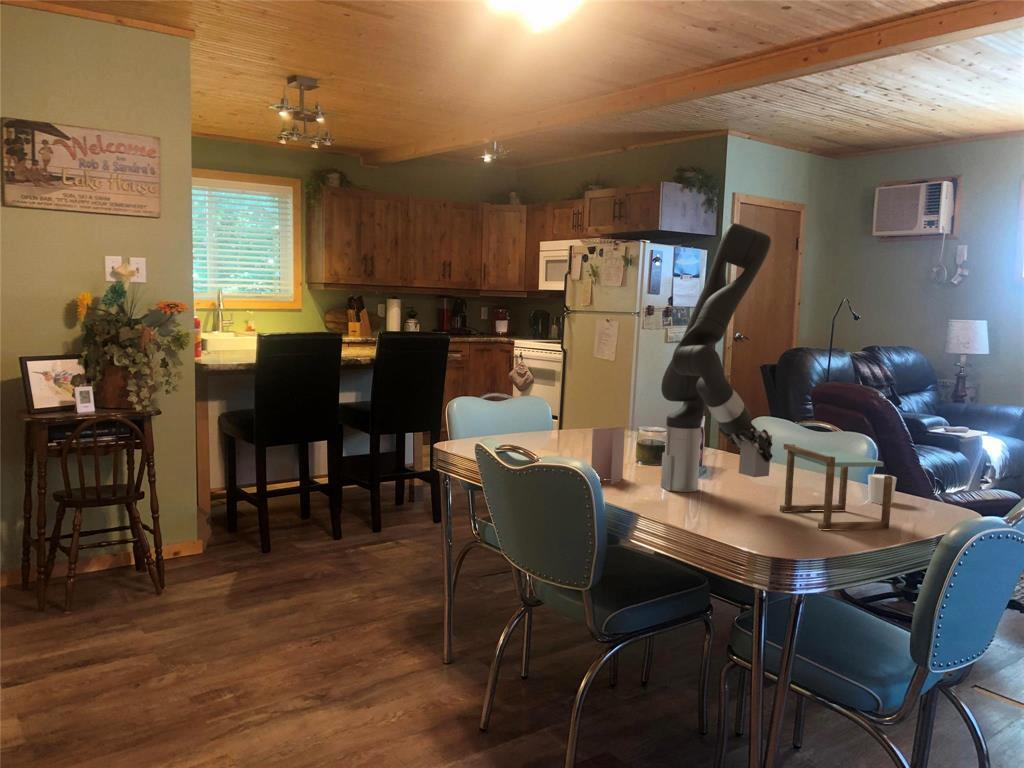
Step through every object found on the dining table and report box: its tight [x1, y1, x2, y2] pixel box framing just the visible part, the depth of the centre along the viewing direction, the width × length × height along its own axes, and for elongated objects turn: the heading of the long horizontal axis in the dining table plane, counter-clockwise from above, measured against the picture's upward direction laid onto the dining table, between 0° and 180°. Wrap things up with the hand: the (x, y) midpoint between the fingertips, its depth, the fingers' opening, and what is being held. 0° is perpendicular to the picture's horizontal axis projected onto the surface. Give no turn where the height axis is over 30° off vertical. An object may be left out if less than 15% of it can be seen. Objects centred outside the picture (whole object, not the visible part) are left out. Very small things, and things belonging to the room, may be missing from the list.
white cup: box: [867, 473, 898, 505], centre depth 202 cm, size 7×7×7 cm
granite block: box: [738, 434, 773, 478], centre depth 188 cm, size 5×5×10 cm
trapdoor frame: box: [779, 443, 893, 531], centre depth 182 cm, size 17×18×17 cm
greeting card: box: [590, 426, 626, 486], centre depth 218 cm, size 11×7×15 cm, turn 121°
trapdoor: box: [794, 451, 885, 468], centre depth 181 cm, size 14×14×1 cm
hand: (760, 456), depth 189 cm, fingers closed on granite block, 5 cm apart
